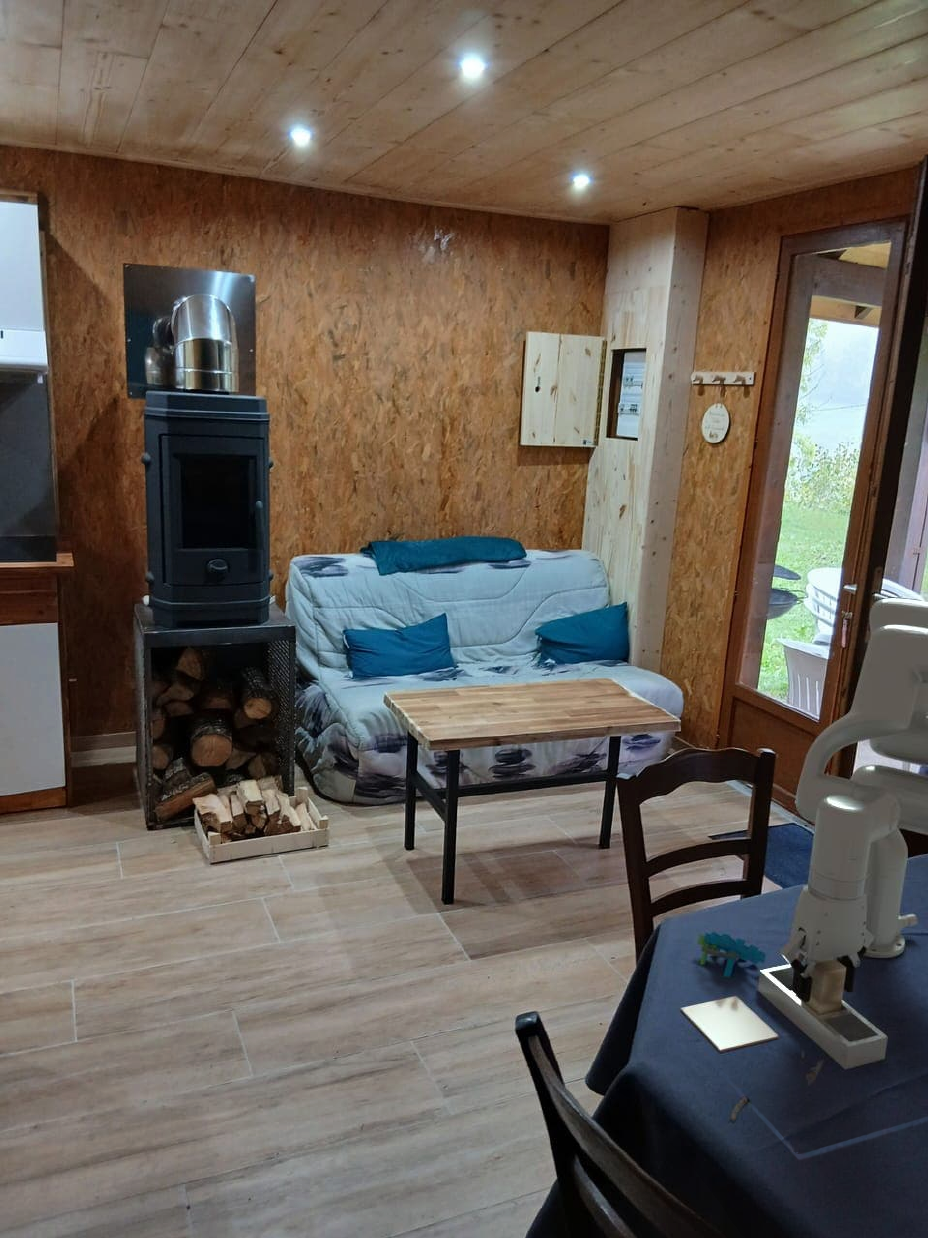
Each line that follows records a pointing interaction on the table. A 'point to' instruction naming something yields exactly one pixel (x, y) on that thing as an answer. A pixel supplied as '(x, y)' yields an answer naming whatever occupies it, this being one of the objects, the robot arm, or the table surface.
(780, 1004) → the shelf
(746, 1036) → the tile
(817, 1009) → the peg
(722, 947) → the gear
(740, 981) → the table surface
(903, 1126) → the table surface
